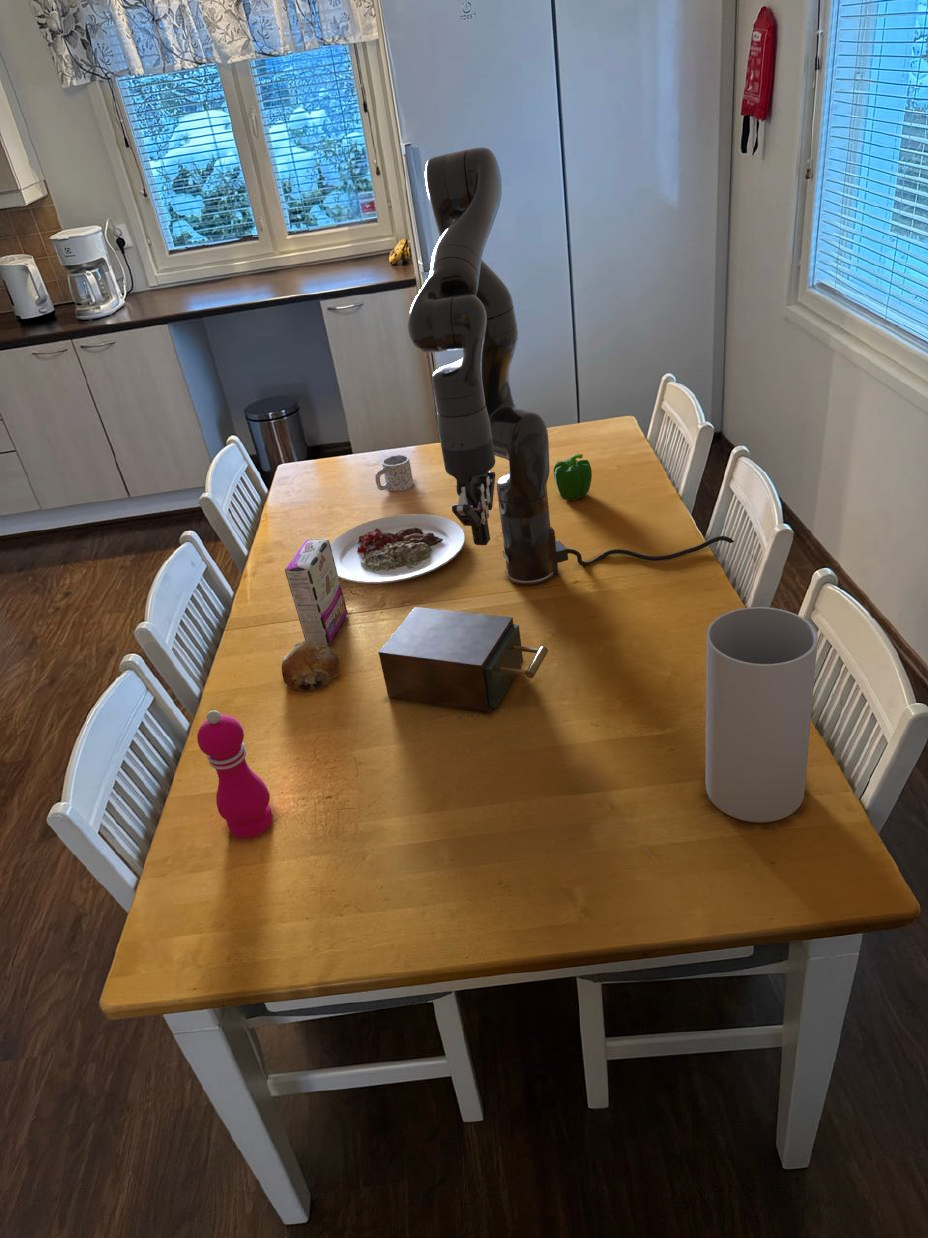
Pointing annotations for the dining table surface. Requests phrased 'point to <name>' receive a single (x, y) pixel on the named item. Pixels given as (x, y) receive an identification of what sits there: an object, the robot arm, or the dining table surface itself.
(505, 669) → the drawer
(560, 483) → the bell pepper
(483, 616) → the cabinet
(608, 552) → the robot arm
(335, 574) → the candy bar box
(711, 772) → the cylinder vase
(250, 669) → the dining table surface
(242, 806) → the pepper mill
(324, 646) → the bread roll
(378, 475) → the mug
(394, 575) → the plated food
